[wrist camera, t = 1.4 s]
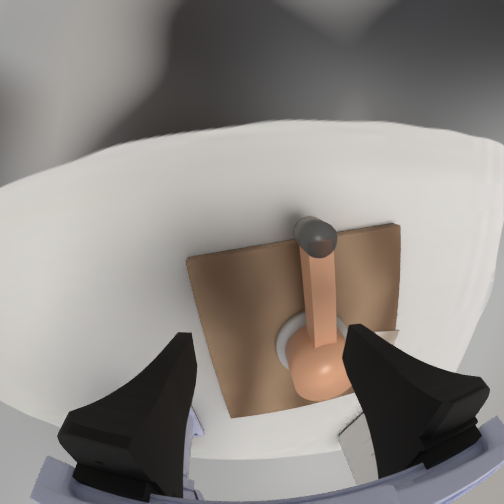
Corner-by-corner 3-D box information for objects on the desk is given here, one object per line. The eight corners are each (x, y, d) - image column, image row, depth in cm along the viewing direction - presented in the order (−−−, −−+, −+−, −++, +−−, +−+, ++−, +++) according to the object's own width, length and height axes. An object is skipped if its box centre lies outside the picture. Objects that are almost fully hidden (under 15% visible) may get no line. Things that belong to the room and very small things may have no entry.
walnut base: (230, 410, 26) (231, 424, 24) (187, 257, 21) (183, 266, 19) (385, 374, 27) (393, 385, 25) (396, 222, 22) (410, 227, 20)
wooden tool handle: (342, 362, 23) (358, 390, 19) (287, 375, 22) (296, 407, 19) (338, 209, 19) (363, 218, 15) (267, 220, 19) (277, 231, 15)
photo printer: (384, 388, 28) (429, 457, 16) (401, 394, 29) (444, 456, 17) (332, 437, 30) (358, 506, 18) (351, 440, 31) (378, 503, 19)
